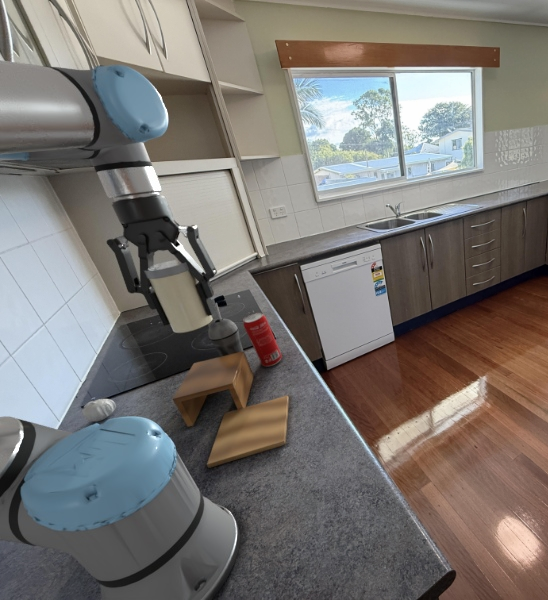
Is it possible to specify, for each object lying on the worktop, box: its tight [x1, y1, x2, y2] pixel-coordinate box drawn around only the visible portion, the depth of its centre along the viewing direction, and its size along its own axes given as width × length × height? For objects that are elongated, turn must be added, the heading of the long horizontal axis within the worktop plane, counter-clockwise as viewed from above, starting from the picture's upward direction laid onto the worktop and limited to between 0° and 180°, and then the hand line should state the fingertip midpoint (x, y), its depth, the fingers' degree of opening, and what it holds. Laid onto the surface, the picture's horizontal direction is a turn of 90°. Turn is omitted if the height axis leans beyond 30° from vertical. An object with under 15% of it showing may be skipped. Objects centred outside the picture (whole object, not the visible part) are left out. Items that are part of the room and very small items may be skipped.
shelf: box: [172, 350, 255, 428], centre depth 75 cm, size 14×12×8 cm
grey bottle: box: [207, 302, 244, 357], centre depth 84 cm, size 7×7×20 cm
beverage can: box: [242, 311, 283, 368], centre depth 86 cm, size 6×6×15 cm
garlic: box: [81, 398, 117, 422], centre depth 75 cm, size 6×5×5 cm
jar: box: [143, 259, 214, 334], centre depth 60 cm, size 7×7×12 cm
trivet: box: [206, 395, 290, 469], centre depth 66 cm, size 14×14×1 cm
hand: (190, 317), depth 62 cm, fingers closed on jar, 7 cm apart
